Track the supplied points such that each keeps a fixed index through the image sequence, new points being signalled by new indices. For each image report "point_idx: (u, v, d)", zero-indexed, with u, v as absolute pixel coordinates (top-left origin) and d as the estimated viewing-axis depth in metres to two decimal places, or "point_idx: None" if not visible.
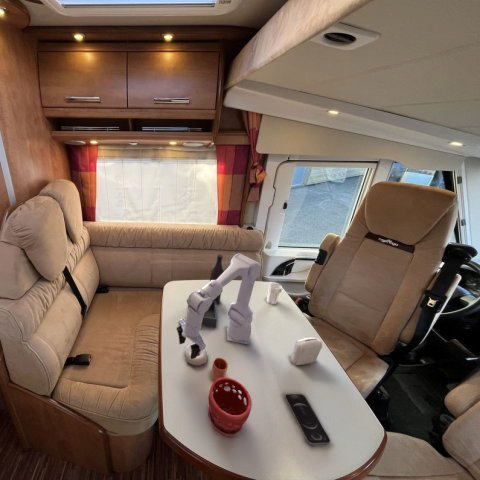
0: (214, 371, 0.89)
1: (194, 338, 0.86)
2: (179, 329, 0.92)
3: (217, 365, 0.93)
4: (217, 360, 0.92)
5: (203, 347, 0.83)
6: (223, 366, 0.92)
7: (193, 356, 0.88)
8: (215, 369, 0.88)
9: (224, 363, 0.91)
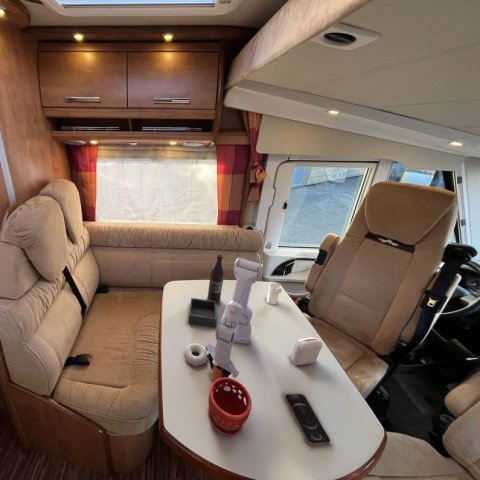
0: (214, 371, 0.89)
1: (225, 365, 0.85)
2: (209, 357, 0.91)
3: None
4: None
5: (236, 374, 0.83)
6: None
7: None
8: (215, 369, 0.88)
9: None
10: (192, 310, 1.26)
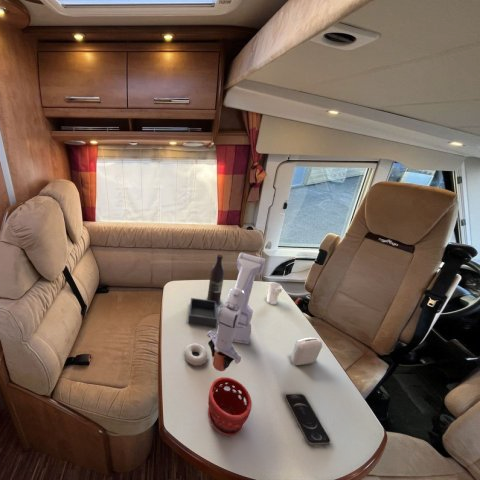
0: (216, 358, 0.87)
1: (228, 351, 0.83)
2: (211, 343, 0.89)
3: (219, 352, 0.91)
4: None
5: (239, 360, 0.81)
6: None
7: (226, 366, 0.86)
8: (217, 356, 0.86)
9: None
10: (192, 310, 1.26)
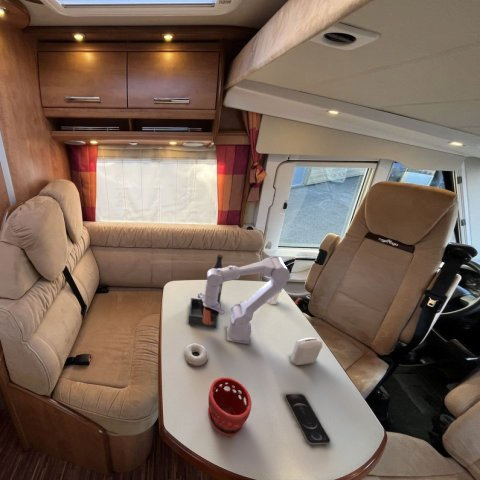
0: (204, 313, 1.06)
1: (213, 306, 1.03)
2: (200, 302, 1.08)
3: None
4: None
5: (222, 312, 1.00)
6: None
7: (213, 320, 1.06)
8: (205, 311, 1.06)
9: None
10: (192, 310, 1.26)
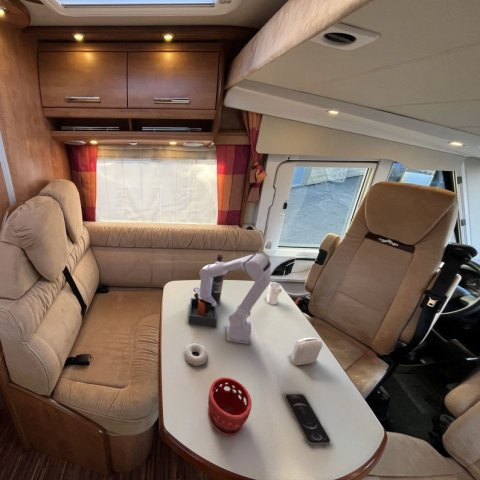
0: (199, 305, 1.18)
1: (207, 299, 1.15)
2: (196, 295, 1.20)
3: (202, 303, 1.22)
4: None
5: (215, 304, 1.12)
6: None
7: (207, 311, 1.18)
8: (200, 303, 1.17)
9: None
10: (192, 310, 1.26)
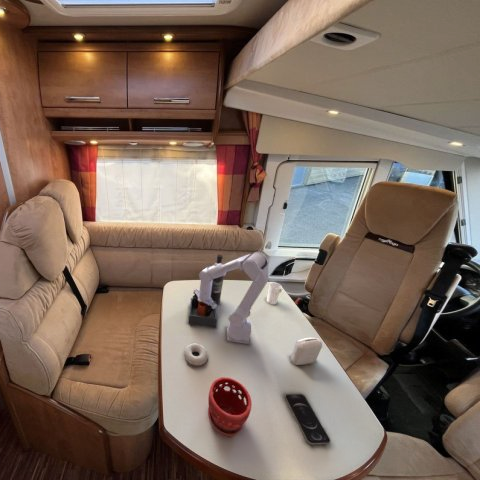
0: (199, 309, 1.19)
1: (207, 301, 1.15)
2: (194, 297, 1.21)
3: None
4: (201, 302, 1.22)
5: (214, 306, 1.13)
6: None
7: (208, 314, 1.18)
8: (199, 307, 1.18)
9: (206, 304, 1.21)
10: (192, 310, 1.26)
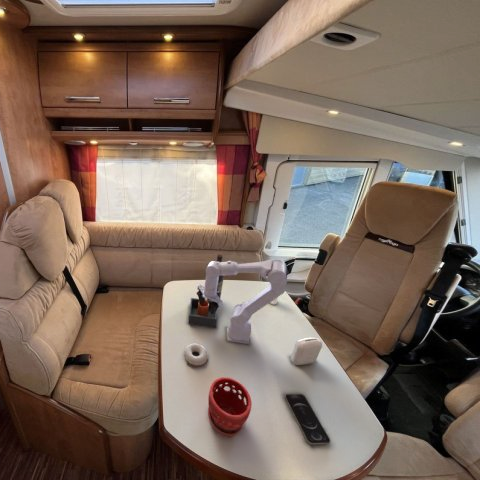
0: (199, 309, 1.19)
1: (212, 298, 1.06)
2: (199, 293, 1.13)
3: None
4: None
5: (221, 303, 1.04)
6: (206, 306, 1.22)
7: (213, 312, 1.09)
8: (199, 307, 1.18)
9: (206, 304, 1.21)
10: (192, 310, 1.26)
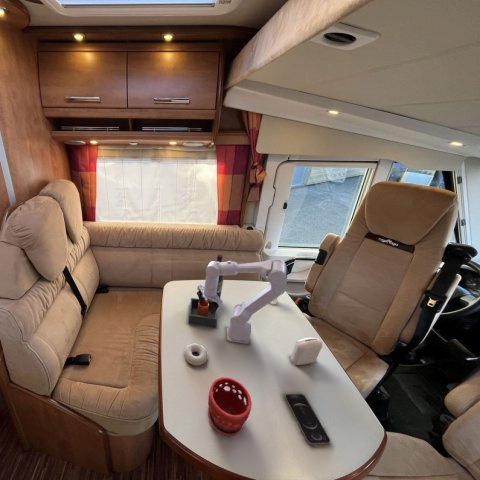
0: (199, 309, 1.19)
1: (212, 298, 1.06)
2: (199, 293, 1.13)
3: None
4: None
5: (221, 303, 1.04)
6: (206, 306, 1.22)
7: (213, 312, 1.09)
8: (199, 307, 1.18)
9: (206, 304, 1.21)
10: (192, 310, 1.26)
